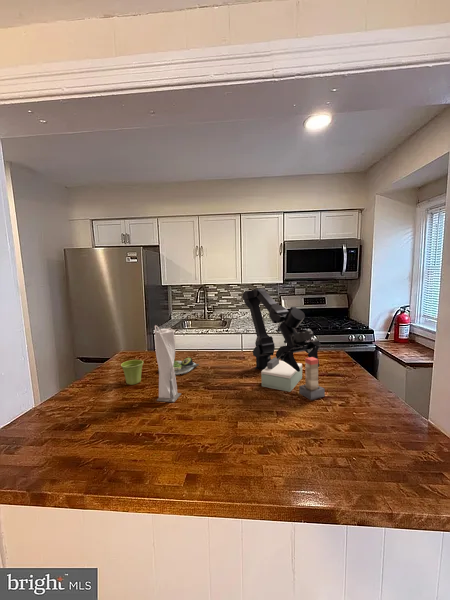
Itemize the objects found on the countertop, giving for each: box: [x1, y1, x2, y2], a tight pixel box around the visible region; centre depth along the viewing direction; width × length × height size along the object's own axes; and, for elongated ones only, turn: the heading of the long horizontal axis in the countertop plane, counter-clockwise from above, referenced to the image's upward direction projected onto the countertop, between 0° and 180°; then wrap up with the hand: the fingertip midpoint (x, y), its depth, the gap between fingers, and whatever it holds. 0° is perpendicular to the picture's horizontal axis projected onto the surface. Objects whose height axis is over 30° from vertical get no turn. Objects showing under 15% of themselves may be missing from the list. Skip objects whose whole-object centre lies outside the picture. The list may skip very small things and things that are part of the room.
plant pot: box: [120, 359, 144, 386], centre depth 125 cm, size 9×9×9 cm
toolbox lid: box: [260, 356, 303, 379], centre depth 119 cm, size 12×16×4 cm
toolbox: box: [260, 366, 303, 393], centre depth 120 cm, size 12×16×5 cm
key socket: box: [298, 383, 326, 401], centre depth 107 cm, size 6×6×3 cm
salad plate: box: [157, 357, 200, 376], centre depth 139 cm, size 19×18×5 cm
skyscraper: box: [154, 324, 182, 403], centre depth 109 cm, size 8×8×28 cm
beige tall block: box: [304, 357, 319, 391], centre depth 106 cm, size 3×3×14 cm
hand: (309, 369), depth 107 cm, fingers open, 9 cm apart
